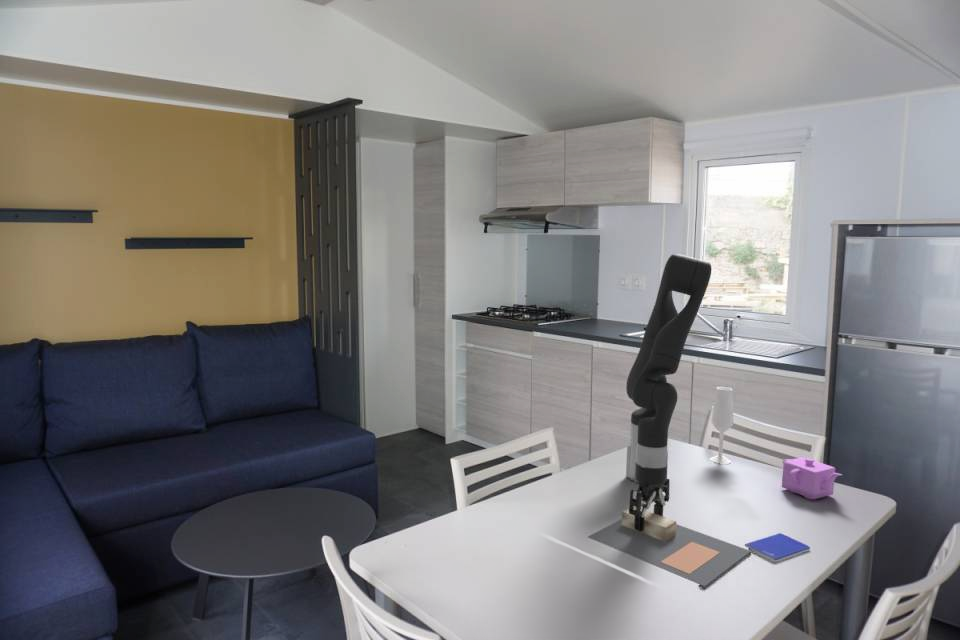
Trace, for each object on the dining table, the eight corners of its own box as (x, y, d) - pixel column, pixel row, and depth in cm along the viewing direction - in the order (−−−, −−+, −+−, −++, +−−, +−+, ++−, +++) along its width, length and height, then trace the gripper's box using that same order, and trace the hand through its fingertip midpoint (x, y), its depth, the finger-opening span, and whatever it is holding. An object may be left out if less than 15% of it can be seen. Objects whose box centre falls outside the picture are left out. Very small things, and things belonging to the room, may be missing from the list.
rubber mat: (587, 539, 156) (587, 536, 156) (638, 512, 171) (638, 510, 171) (704, 588, 135) (704, 585, 134) (750, 553, 150) (751, 550, 150)
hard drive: (775, 558, 145) (810, 546, 151) (744, 543, 152) (779, 532, 158) (774, 565, 146) (809, 552, 151) (744, 549, 153) (778, 538, 159)
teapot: (853, 501, 179) (857, 466, 178) (821, 511, 173) (824, 474, 172) (795, 479, 195) (798, 447, 194) (764, 487, 189) (766, 454, 187)
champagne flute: (708, 462, 209) (712, 389, 206) (709, 456, 215) (713, 385, 212) (730, 465, 207) (735, 391, 203) (731, 458, 213) (735, 387, 210)
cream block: (621, 525, 162) (622, 511, 162) (633, 519, 166) (633, 506, 165) (664, 541, 154) (665, 527, 153) (675, 535, 157) (676, 521, 157)
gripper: (653, 451, 165) (650, 511, 167) (621, 464, 155) (619, 528, 157) (680, 458, 160) (677, 521, 162) (649, 472, 150) (646, 539, 152)
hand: (648, 524), depth 160 cm, fingers open, 8 cm apart
